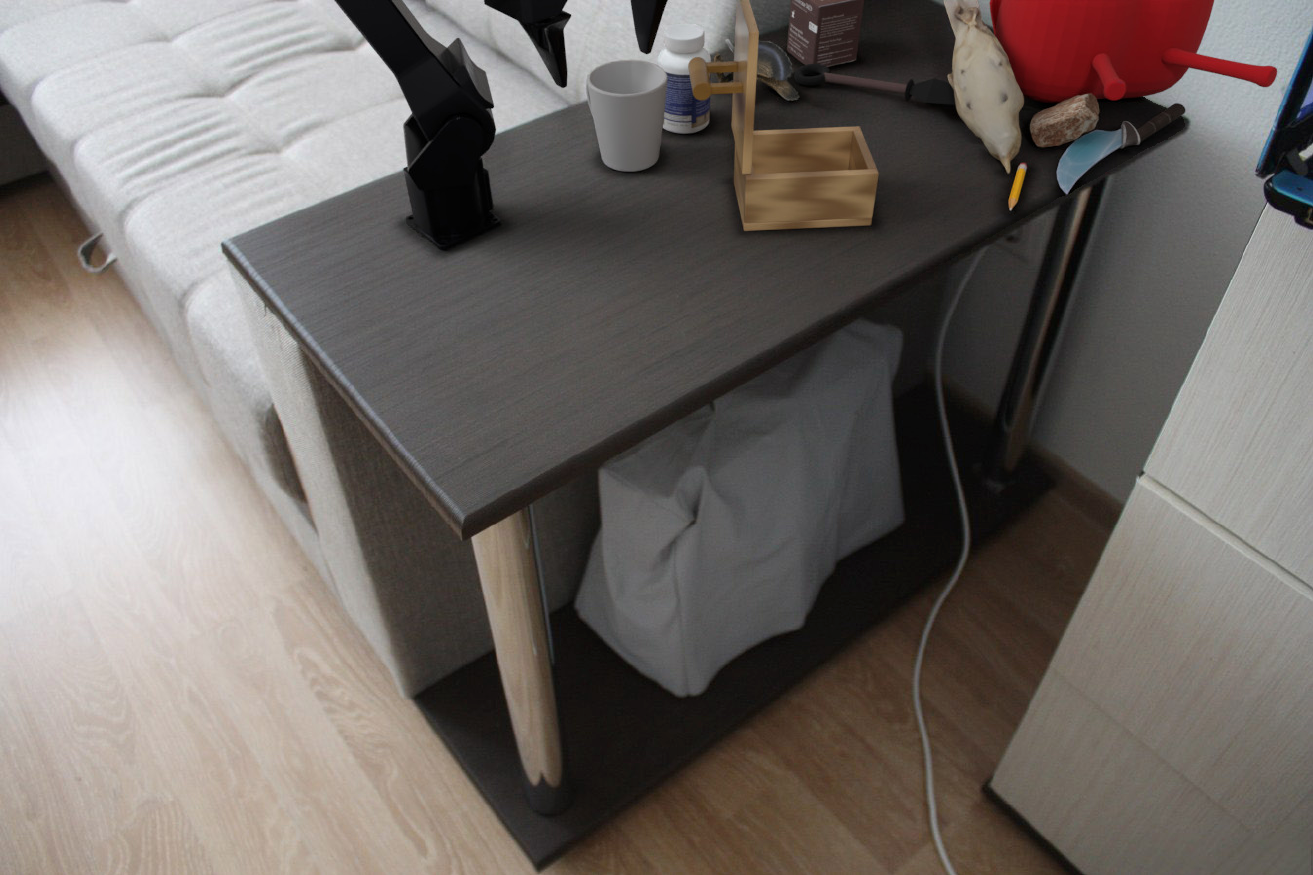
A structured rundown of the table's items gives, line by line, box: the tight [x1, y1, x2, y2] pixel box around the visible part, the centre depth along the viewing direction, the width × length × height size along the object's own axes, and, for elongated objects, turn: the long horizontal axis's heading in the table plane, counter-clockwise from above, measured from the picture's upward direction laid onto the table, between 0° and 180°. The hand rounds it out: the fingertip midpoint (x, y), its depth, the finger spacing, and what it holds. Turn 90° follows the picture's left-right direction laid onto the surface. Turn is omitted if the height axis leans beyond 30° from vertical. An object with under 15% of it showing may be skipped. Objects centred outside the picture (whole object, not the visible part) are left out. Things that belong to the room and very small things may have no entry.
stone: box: [1029, 93, 1100, 148], centre depth 102 cm, size 7×6×5 cm
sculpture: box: [943, 0, 1025, 175], centre depth 102 cm, size 6×25×5 cm
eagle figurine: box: [713, 38, 800, 102], centre depth 110 cm, size 8×7×9 cm
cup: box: [585, 59, 668, 173], centre depth 100 cm, size 8×10×8 cm
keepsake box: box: [733, 125, 880, 232], centre depth 94 cm, size 12×9×5 cm
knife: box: [1056, 102, 1186, 196], centre depth 102 cm, size 22×2×5 cm
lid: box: [688, 0, 760, 174], centre depth 87 cm, size 12×9×5 cm
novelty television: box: [989, 0, 1278, 105], centre depth 105 cm, size 21×13×30 cm
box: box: [786, 0, 865, 68], centre depth 116 cm, size 6×6×7 cm
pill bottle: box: [657, 22, 712, 135], centre depth 104 cm, size 5×5×10 cm
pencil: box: [1008, 162, 1028, 212], centre depth 97 cm, size 1×8×1 cm
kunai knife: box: [793, 64, 1043, 111], centre depth 108 cm, size 4×27×3 cm, turn 57°
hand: (604, 69), depth 87 cm, fingers open, 9 cm apart
